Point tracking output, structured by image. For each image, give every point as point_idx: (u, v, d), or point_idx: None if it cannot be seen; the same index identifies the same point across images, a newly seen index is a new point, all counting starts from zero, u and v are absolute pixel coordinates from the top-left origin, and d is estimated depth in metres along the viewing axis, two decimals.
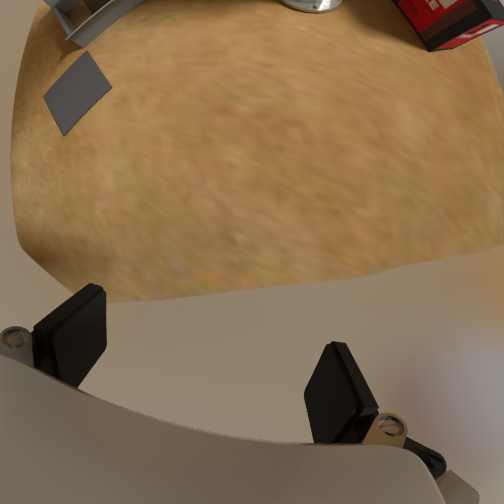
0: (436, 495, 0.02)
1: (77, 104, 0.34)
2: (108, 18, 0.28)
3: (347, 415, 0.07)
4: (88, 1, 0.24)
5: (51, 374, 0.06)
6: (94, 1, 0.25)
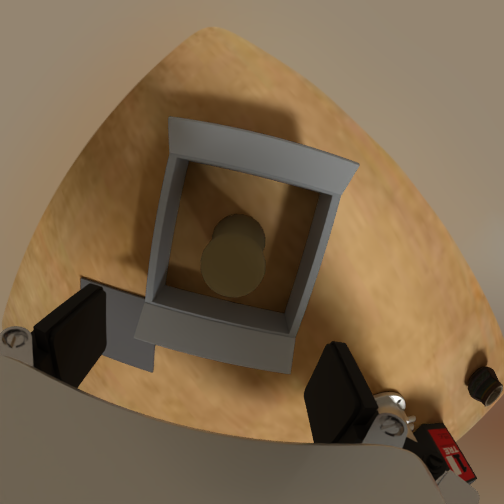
0: (436, 495, 0.02)
1: (111, 345, 0.34)
2: None
3: (347, 415, 0.07)
4: None
5: (51, 374, 0.06)
6: None
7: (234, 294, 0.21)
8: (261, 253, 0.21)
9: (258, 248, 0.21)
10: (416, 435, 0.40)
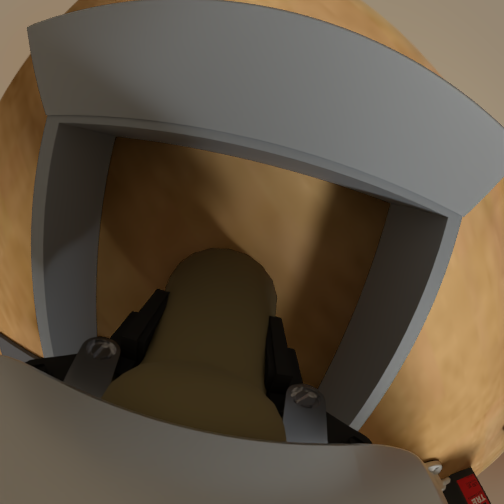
0: (436, 495, 0.02)
1: None
2: None
3: None
4: None
5: None
6: None
7: None
8: None
9: (270, 438, 0.05)
10: None
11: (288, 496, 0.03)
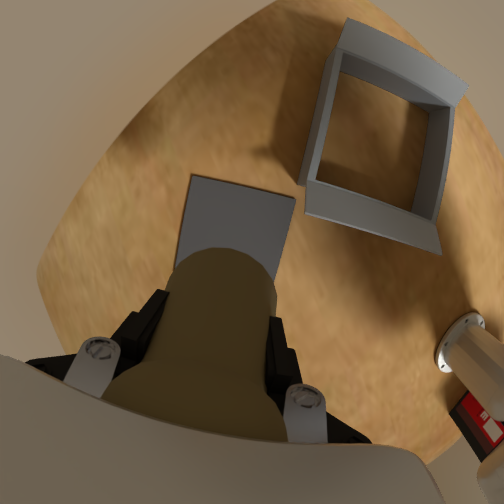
0: (436, 495, 0.02)
1: None
2: None
3: None
4: None
5: None
6: None
7: None
8: None
9: (271, 437, 0.05)
10: None
11: (288, 496, 0.03)
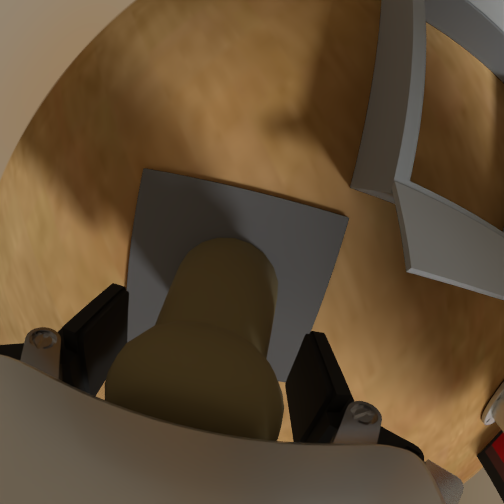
0: (436, 495, 0.02)
1: None
2: None
3: (320, 402, 0.07)
4: None
5: (78, 374, 0.07)
6: None
7: None
8: (272, 398, 0.06)
9: (263, 385, 0.06)
10: None
11: (288, 496, 0.03)
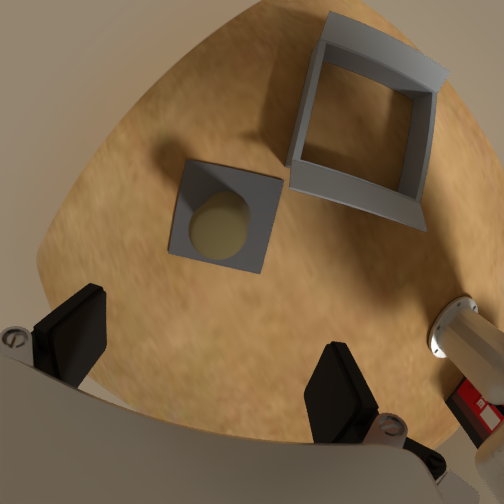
0: (436, 495, 0.02)
1: None
2: None
3: (347, 415, 0.07)
4: None
5: (51, 374, 0.06)
6: None
7: (219, 255, 0.23)
8: (242, 217, 0.23)
9: (240, 212, 0.23)
10: None
11: (288, 496, 0.03)
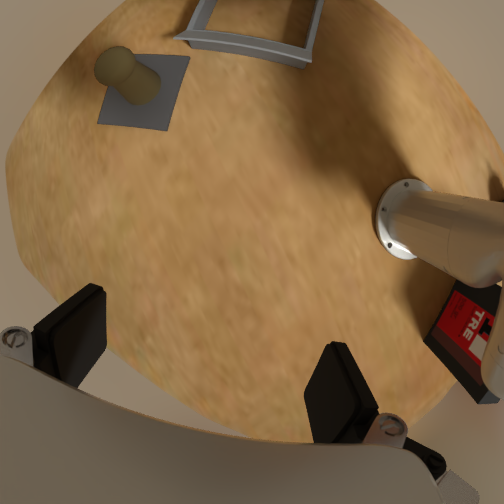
0: (436, 495, 0.02)
1: (130, 108, 0.33)
2: (238, 48, 0.29)
3: (347, 415, 0.07)
4: None
5: (51, 374, 0.06)
6: (120, 93, 0.28)
7: (109, 75, 0.22)
8: (130, 51, 0.22)
9: (129, 49, 0.22)
10: (459, 281, 0.39)
11: (288, 496, 0.03)
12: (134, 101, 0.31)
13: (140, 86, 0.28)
